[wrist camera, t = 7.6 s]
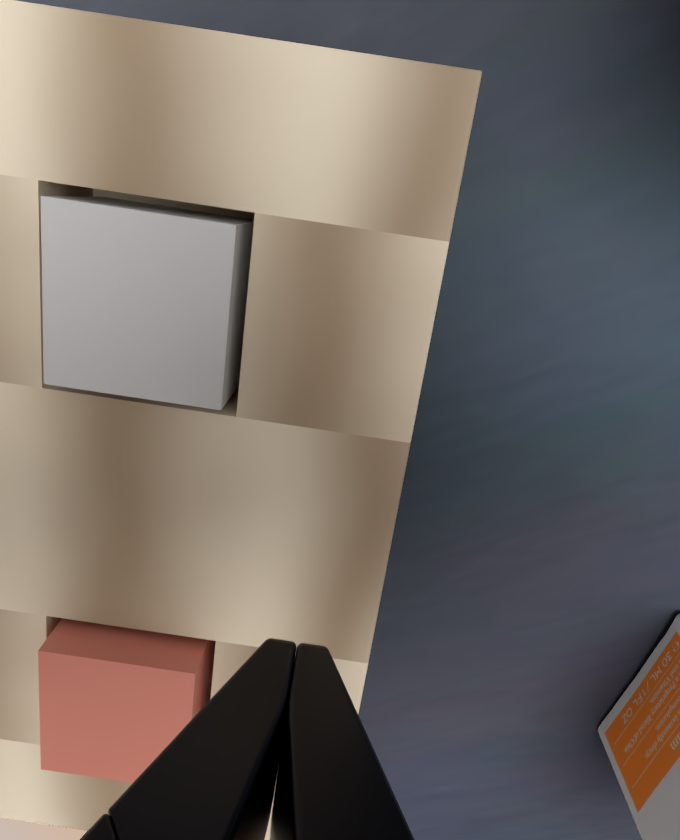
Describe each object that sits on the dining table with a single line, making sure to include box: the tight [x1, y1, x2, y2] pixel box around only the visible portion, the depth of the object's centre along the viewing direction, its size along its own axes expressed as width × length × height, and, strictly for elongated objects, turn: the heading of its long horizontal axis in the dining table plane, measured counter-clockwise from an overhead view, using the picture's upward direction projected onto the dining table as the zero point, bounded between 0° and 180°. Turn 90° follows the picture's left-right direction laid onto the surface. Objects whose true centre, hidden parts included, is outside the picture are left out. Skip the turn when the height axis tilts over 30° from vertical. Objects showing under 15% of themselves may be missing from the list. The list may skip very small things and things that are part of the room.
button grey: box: [41, 196, 254, 410], centre depth 16 cm, size 4×4×4 cm
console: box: [0, 0, 482, 840], centre depth 19 cm, size 14×24×4 cm, turn 172°
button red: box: [38, 618, 216, 783], centre depth 20 cm, size 4×4×4 cm
